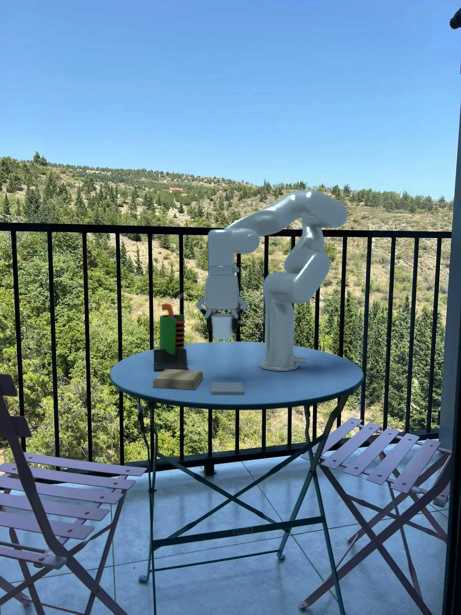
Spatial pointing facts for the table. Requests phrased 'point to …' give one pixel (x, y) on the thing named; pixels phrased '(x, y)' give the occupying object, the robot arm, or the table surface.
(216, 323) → the white cup
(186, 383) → the stand
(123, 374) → the table surface
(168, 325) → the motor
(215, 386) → the slate coaster
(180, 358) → the handheld gaming console
